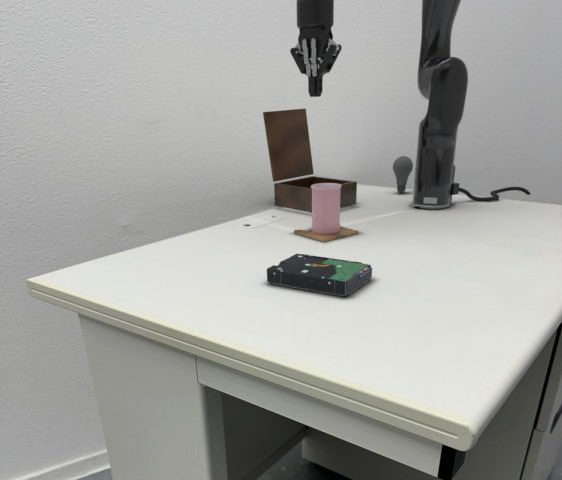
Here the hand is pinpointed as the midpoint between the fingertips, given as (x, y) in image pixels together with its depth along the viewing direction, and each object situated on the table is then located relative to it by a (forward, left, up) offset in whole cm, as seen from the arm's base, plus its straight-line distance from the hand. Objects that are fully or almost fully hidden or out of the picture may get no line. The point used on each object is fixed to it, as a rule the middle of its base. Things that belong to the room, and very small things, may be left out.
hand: (315, 96), depth 118 cm
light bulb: (-40, -8, -27) cm, 48 cm away
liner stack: (+7, +11, -26) cm, 29 cm away
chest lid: (-9, -20, -12) cm, 24 cm away
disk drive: (+29, +34, -27) cm, 52 cm away
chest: (-10, -11, -26) cm, 30 cm away
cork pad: (+6, +11, -26) cm, 29 cm away
